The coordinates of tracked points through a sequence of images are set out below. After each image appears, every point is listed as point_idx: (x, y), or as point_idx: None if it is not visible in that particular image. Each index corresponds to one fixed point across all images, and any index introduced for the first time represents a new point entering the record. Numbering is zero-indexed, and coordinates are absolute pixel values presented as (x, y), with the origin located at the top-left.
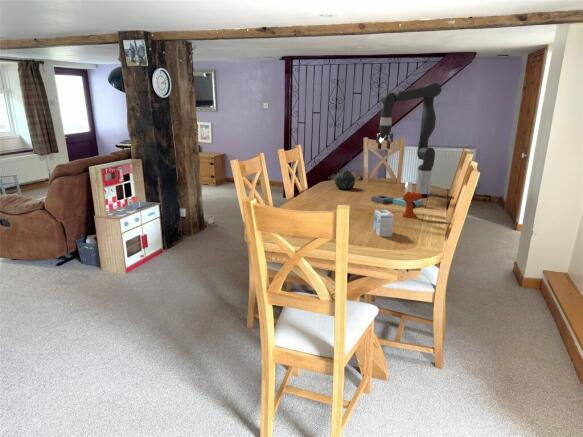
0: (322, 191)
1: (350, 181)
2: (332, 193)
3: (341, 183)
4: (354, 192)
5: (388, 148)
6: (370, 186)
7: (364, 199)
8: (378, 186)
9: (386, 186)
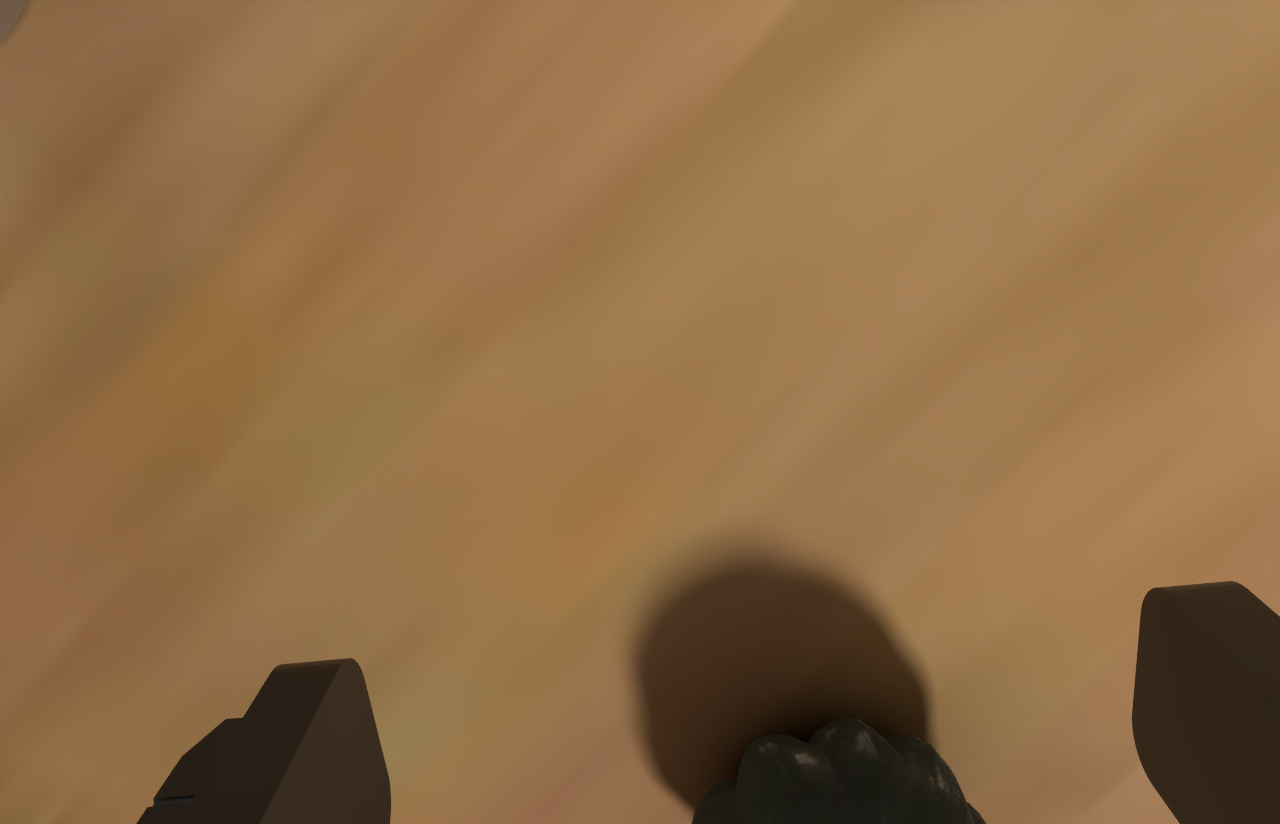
0: None
1: (874, 771)
2: None
3: (972, 811)
4: (880, 559)
5: (358, 695)
6: None
7: (1126, 100)
8: None
9: (152, 671)
